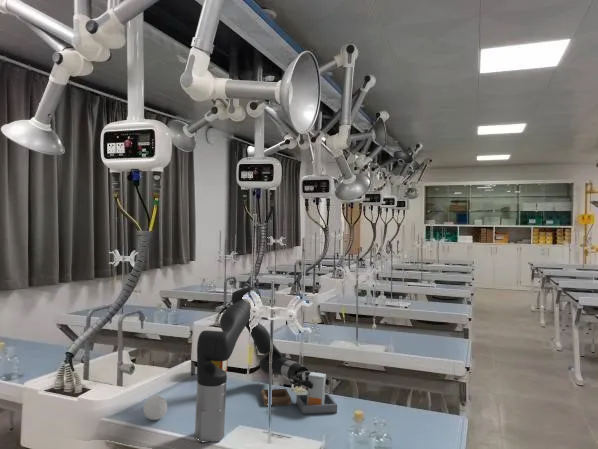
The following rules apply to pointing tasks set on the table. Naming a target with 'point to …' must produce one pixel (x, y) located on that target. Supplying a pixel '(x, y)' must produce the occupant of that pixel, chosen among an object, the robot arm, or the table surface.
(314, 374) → the skincare box
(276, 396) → the socket block
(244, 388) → the table surface
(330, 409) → the tray
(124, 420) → the table surface
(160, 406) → the geometric ball
